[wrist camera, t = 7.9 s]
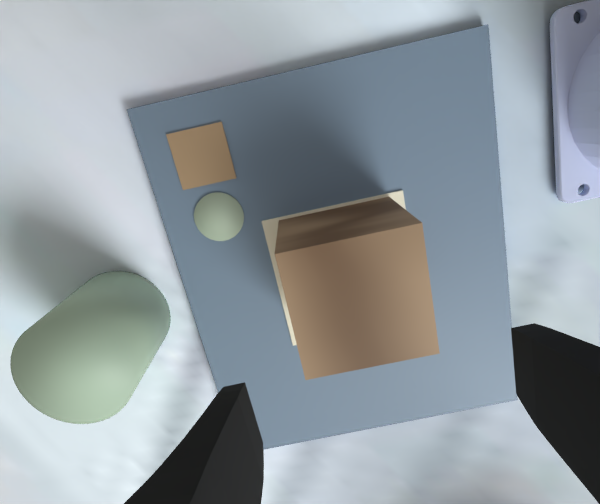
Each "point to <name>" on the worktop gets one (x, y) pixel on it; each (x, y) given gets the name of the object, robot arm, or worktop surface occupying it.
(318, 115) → the board
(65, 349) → the sage drum
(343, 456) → the worktop surface
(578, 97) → the robot arm
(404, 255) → the walnut block
